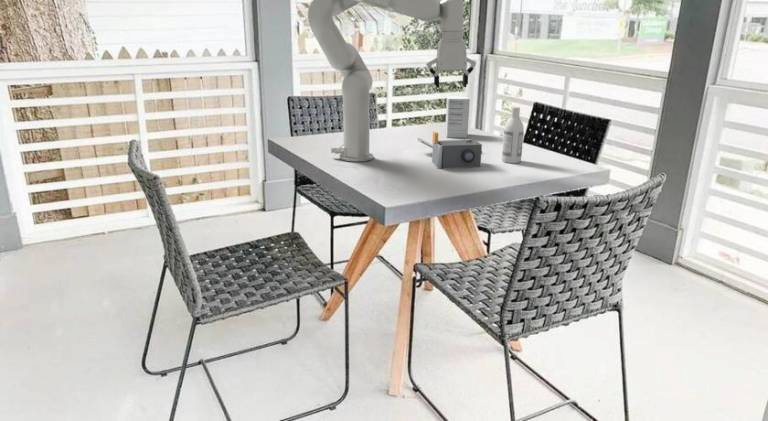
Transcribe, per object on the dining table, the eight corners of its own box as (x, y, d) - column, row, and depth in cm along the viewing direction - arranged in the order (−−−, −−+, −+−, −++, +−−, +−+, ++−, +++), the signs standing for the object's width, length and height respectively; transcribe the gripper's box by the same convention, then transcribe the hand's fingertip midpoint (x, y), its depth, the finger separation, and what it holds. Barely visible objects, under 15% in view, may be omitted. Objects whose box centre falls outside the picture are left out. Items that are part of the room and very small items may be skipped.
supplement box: (467, 138, 257) (470, 99, 251) (446, 137, 257) (448, 98, 251) (465, 133, 266) (467, 95, 260) (444, 133, 266) (446, 95, 260)
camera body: (443, 169, 207) (444, 145, 204) (436, 162, 216) (437, 139, 213) (481, 167, 209) (483, 143, 206) (473, 161, 218) (474, 138, 215)
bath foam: (518, 159, 222) (523, 105, 215) (522, 163, 215) (527, 108, 209) (500, 158, 222) (504, 105, 215) (503, 163, 215) (508, 108, 209)
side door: (438, 168, 207) (439, 136, 203) (431, 162, 216) (432, 131, 212) (441, 168, 207) (443, 136, 204) (435, 162, 216) (436, 131, 212)
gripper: (428, 37, 198) (428, 89, 204) (479, 36, 200) (477, 87, 205) (424, 36, 206) (424, 86, 211) (474, 35, 207) (472, 85, 212)
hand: (450, 87), depth 208 cm, fingers open, 9 cm apart
